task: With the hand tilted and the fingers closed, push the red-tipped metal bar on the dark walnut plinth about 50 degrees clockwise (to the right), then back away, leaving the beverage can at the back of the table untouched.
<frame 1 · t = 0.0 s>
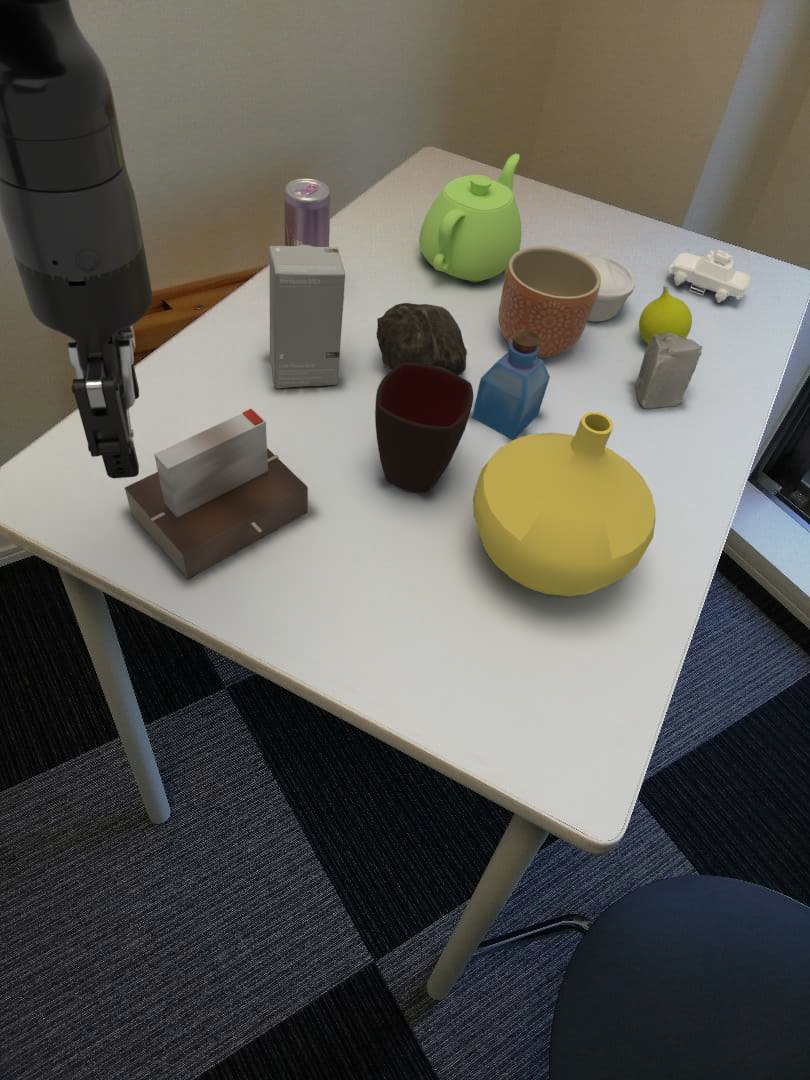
hand: (124, 434, 59), 21 cm above the table, tool pointing down, fingers open, 8 cm apart
vase: (544, 554, 84), on the table
red-tipped metal bar: (214, 462, 77), point 8 cm above the table, hinge at 0.0°
rock: (419, 370, 102), on the table
teapot: (469, 260, 120), on the table
toy car: (702, 290, 122), on the table
planter: (534, 341, 109), on the table
beverage can: (306, 292, 110), on the table
mug: (417, 464, 91), on the table
ornament: (655, 344, 111), on the table
mineral specimen: (652, 392, 104), on the table
cosmetic box: (305, 371, 99), on the table
perfume bottle: (504, 417, 98), on the table
ramekin: (587, 305, 116), on the table
brown rectangular plinth: (220, 512, 83), on the table
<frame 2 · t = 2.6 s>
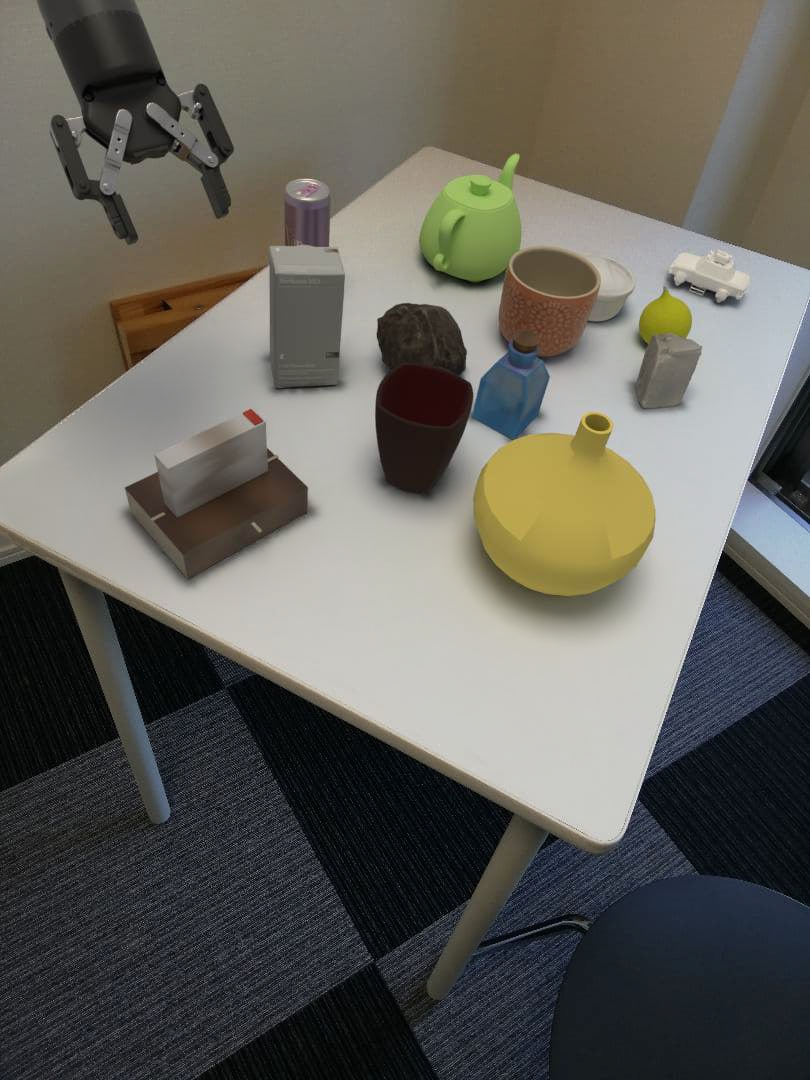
hand: (179, 228, 68), 27 cm above the table, tool tilted 40°, fingers open, 8 cm apart
nothing on the table moved.
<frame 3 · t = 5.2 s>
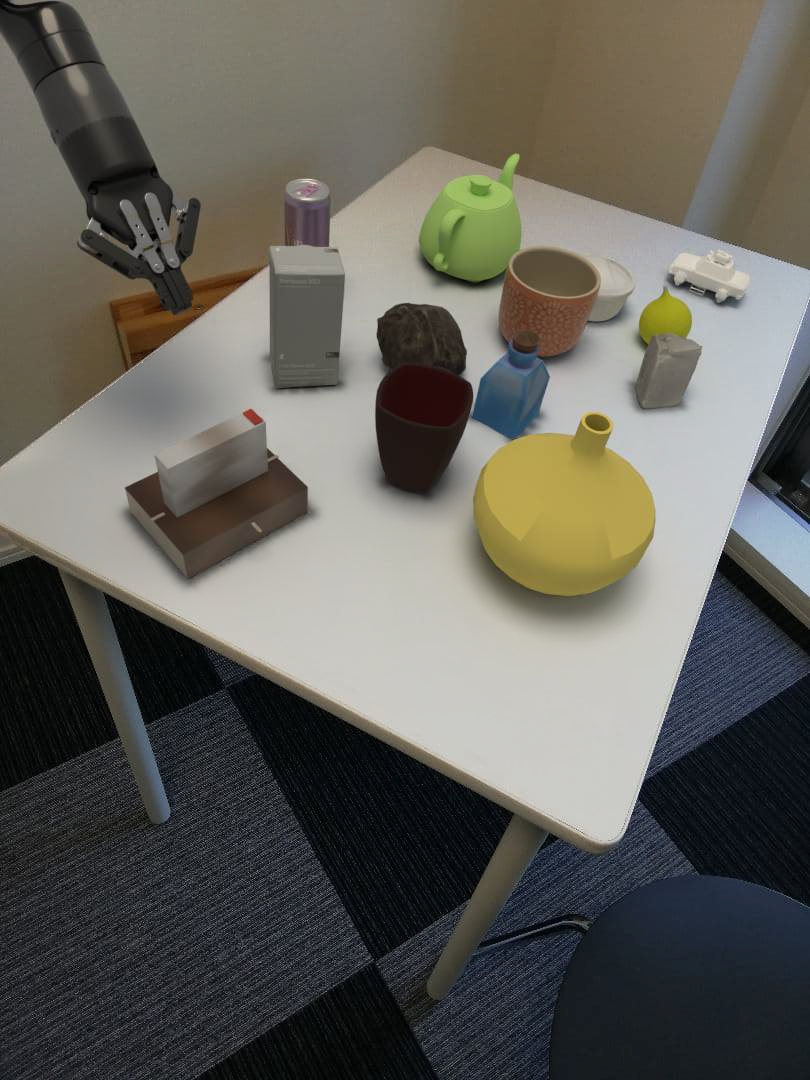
hand: (183, 310, 76), 17 cm above the table, tool tilted 45°, fingers closed
nothing on the table moved.
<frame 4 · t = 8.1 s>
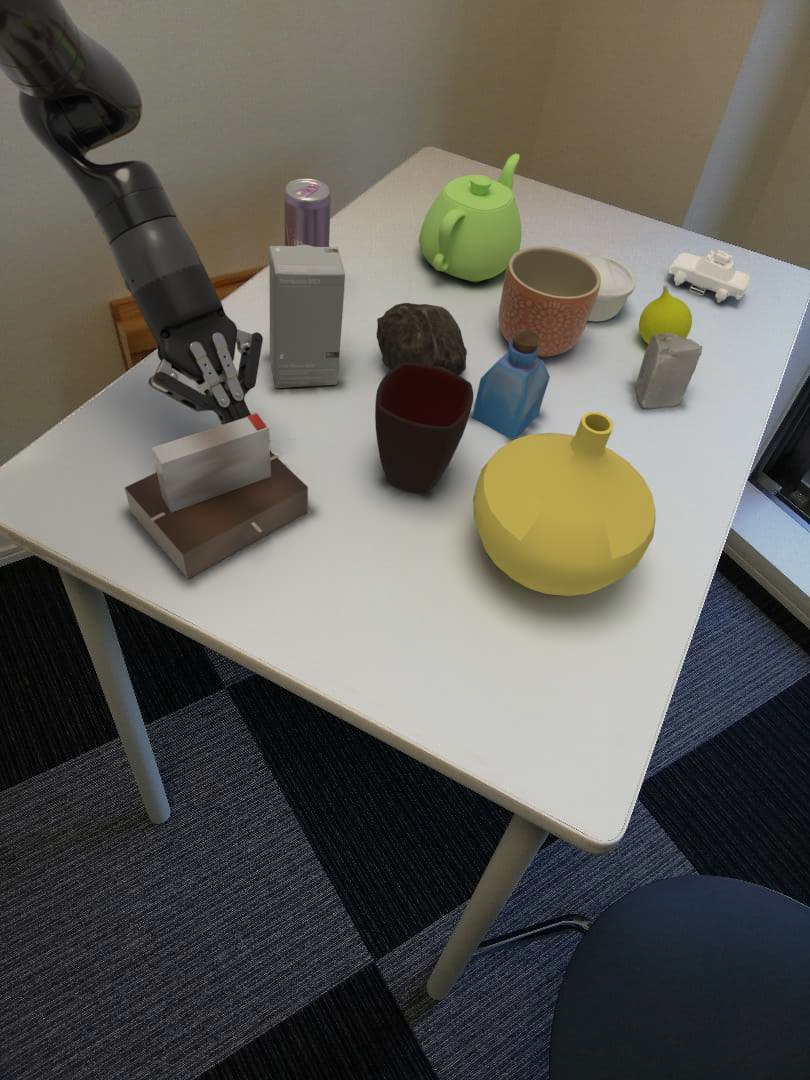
hand: (246, 439, 80), 7 cm above the table, tool tilted 45°, fingers closed
red-tipped metal bar: (214, 462, 77), point 8 cm above the table, hinge at -9.6°, touching gripper
everything else where it was.
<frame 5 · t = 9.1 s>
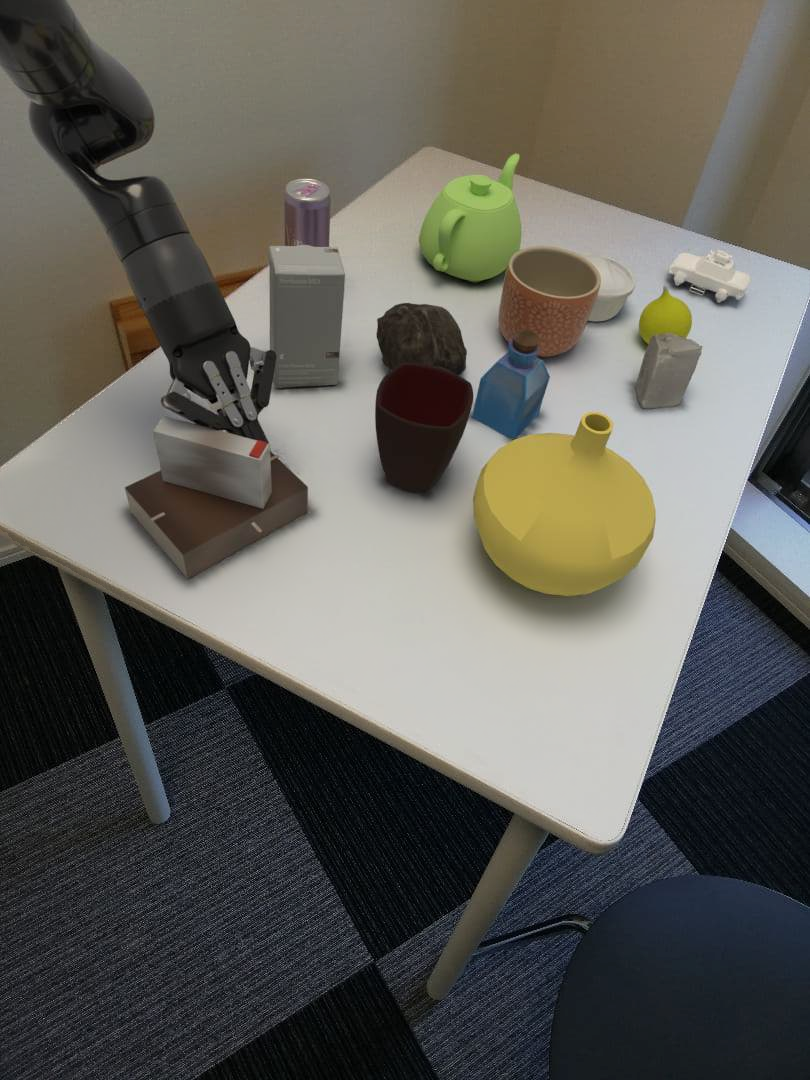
hand: (259, 458, 78), 7 cm above the table, tool tilted 45°, fingers closed
red-tipped metal bar: (214, 462, 77), point 8 cm above the table, hinge at -57.3°, touching gripper
everything else where it was.
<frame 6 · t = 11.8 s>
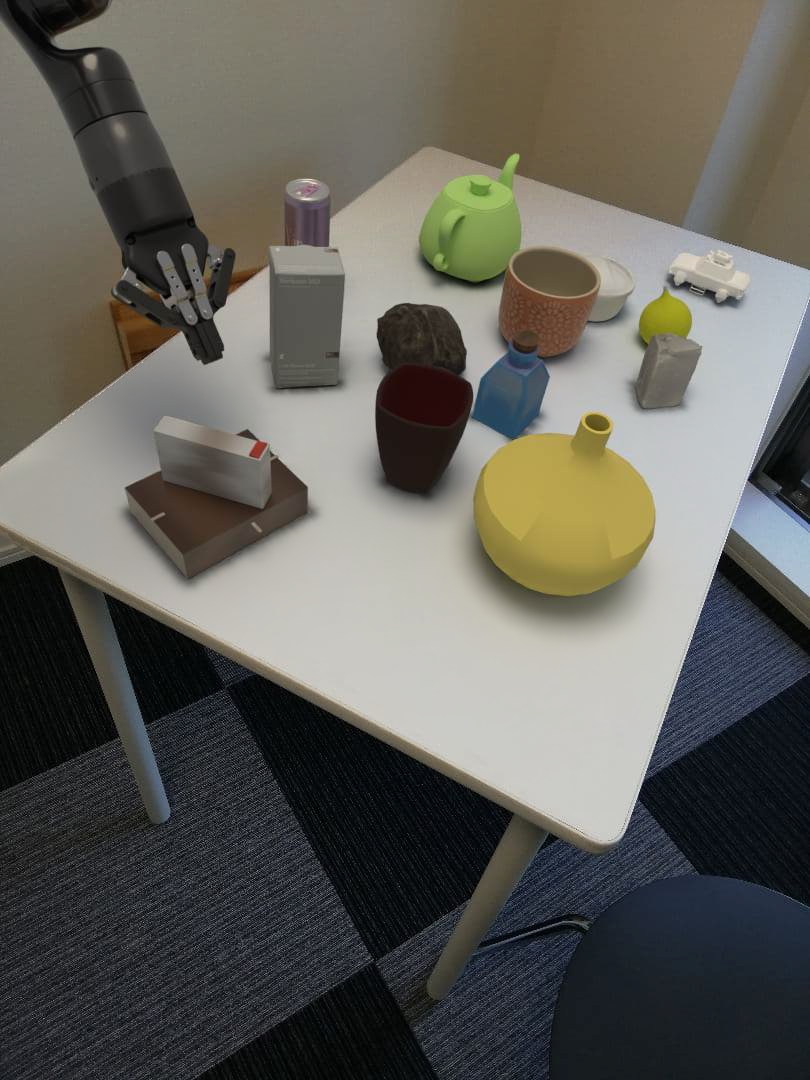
hand: (213, 361, 76), 15 cm above the table, tool tilted 40°, fingers closed
red-tipped metal bar: (214, 462, 77), point 8 cm above the table, hinge at -57.8°
everything else where it was.
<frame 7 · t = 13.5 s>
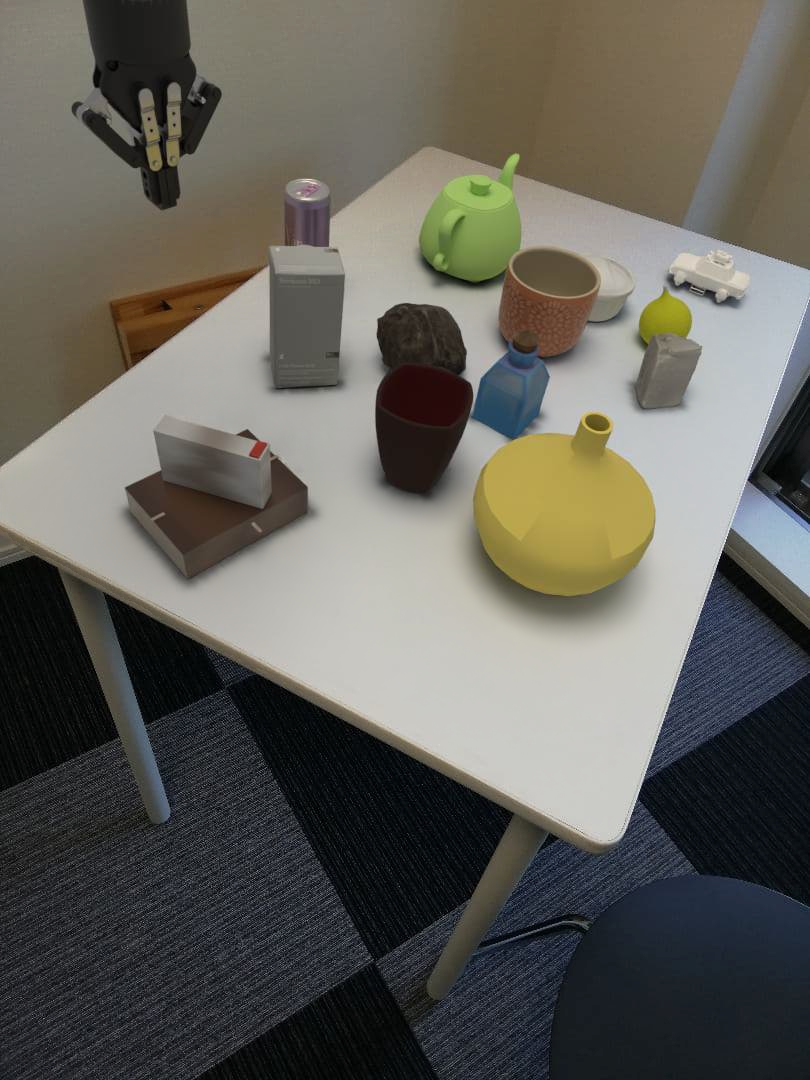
hand: (164, 204, 70), 27 cm above the table, tool pointing down, fingers closed
nothing on the table moved.
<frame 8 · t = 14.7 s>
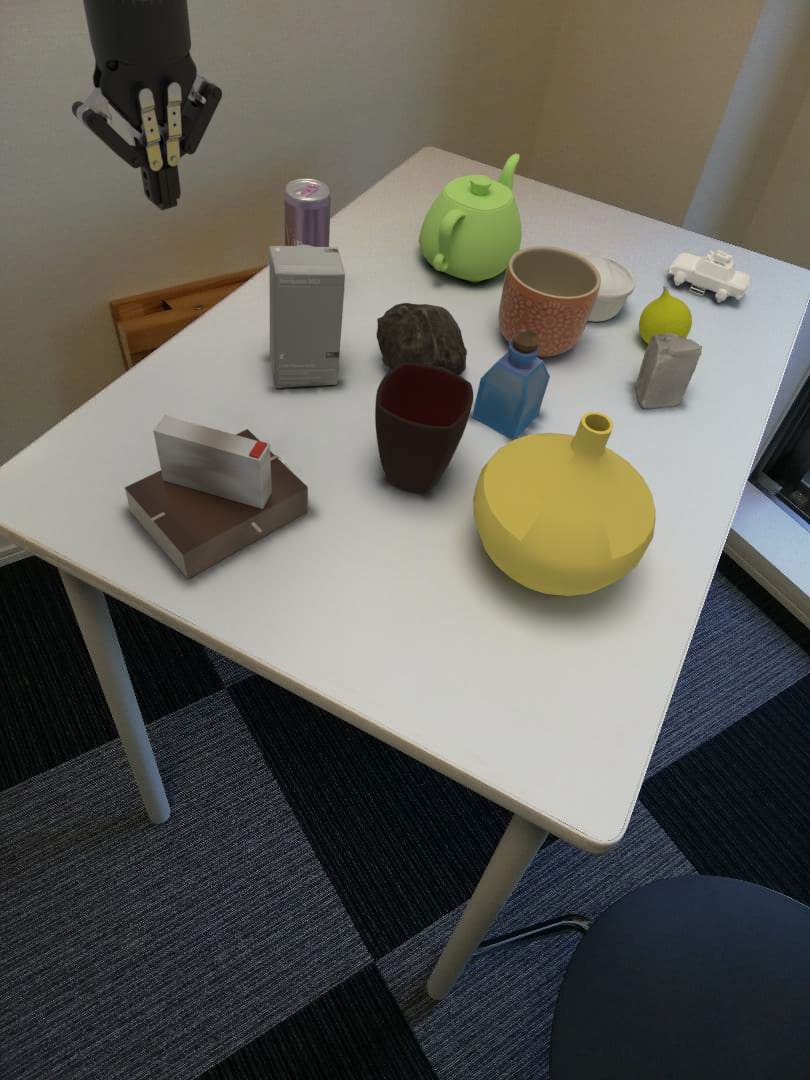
hand: (164, 204, 70), 27 cm above the table, tool pointing down, fingers closed
nothing on the table moved.
at the end: red-tipped metal bar at -58° (first picture: +0°); beverage can moved 0.2 cm from its start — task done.
